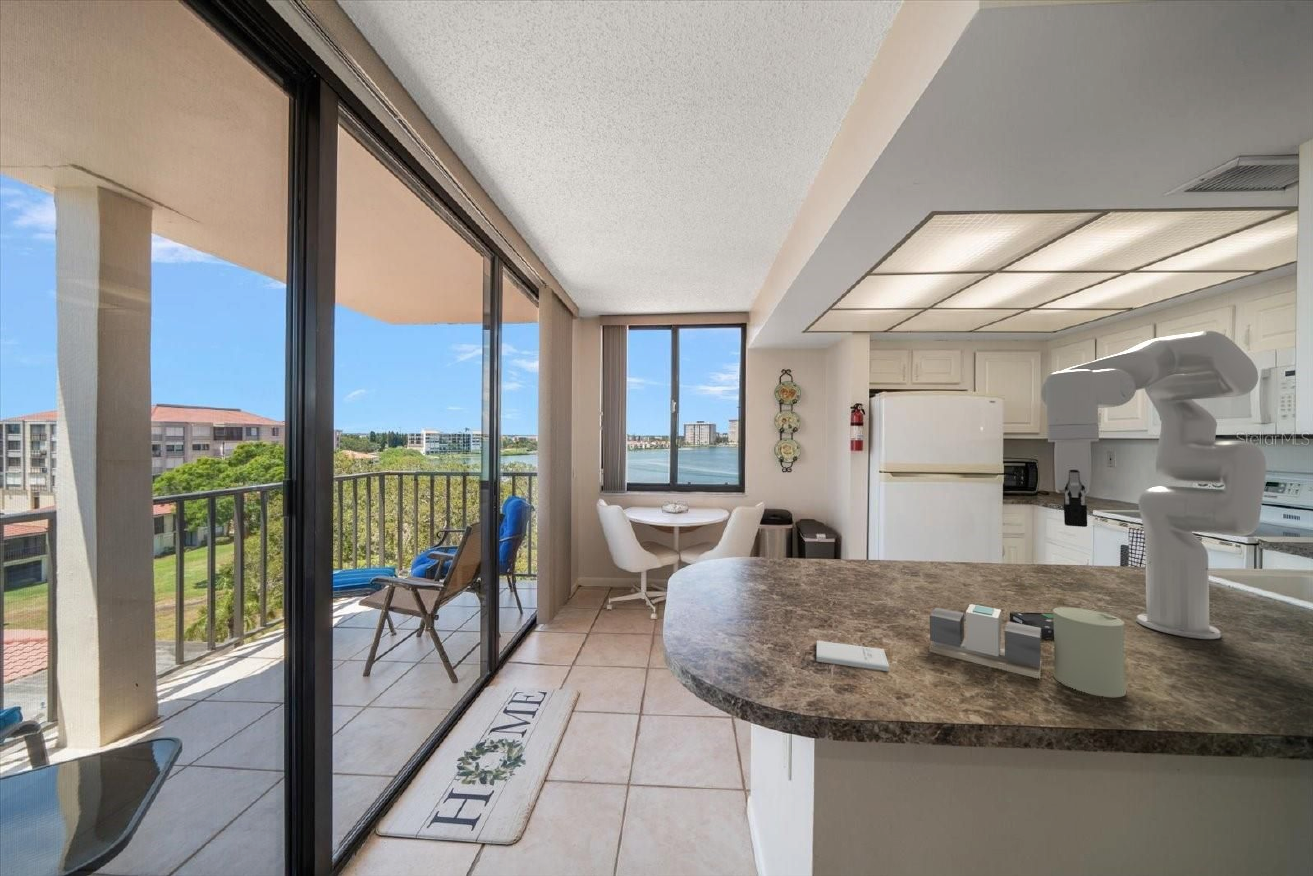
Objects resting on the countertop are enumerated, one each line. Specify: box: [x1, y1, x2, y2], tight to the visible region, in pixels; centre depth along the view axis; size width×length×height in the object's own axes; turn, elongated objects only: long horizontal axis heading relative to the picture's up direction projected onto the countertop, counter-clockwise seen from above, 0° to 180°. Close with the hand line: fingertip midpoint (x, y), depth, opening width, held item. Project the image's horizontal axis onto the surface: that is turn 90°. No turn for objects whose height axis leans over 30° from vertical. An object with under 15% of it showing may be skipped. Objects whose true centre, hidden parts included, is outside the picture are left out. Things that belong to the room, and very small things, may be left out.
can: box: [1052, 606, 1127, 699], centre depth 81 cm, size 9×9×12 cm
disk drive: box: [1009, 611, 1054, 640], centre depth 105 cm, size 10×3×15 cm
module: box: [965, 603, 1003, 656], centre depth 91 cm, size 6×5×7 cm
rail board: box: [929, 607, 1042, 680], centre depth 91 cm, size 7×17×7 cm, turn 50°
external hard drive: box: [815, 640, 890, 672], centre depth 91 cm, size 2×8×12 cm
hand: (1075, 522), depth 92 cm, fingers open, 9 cm apart
